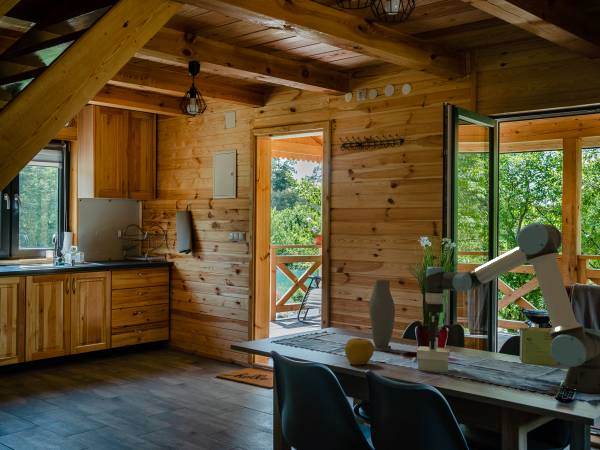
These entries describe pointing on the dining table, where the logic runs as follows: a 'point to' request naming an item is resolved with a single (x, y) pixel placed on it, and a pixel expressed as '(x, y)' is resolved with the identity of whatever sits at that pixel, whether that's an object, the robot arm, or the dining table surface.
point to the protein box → (536, 346)
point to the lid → (440, 353)
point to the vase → (382, 315)
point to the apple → (359, 351)
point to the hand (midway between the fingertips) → (433, 354)
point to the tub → (432, 365)
